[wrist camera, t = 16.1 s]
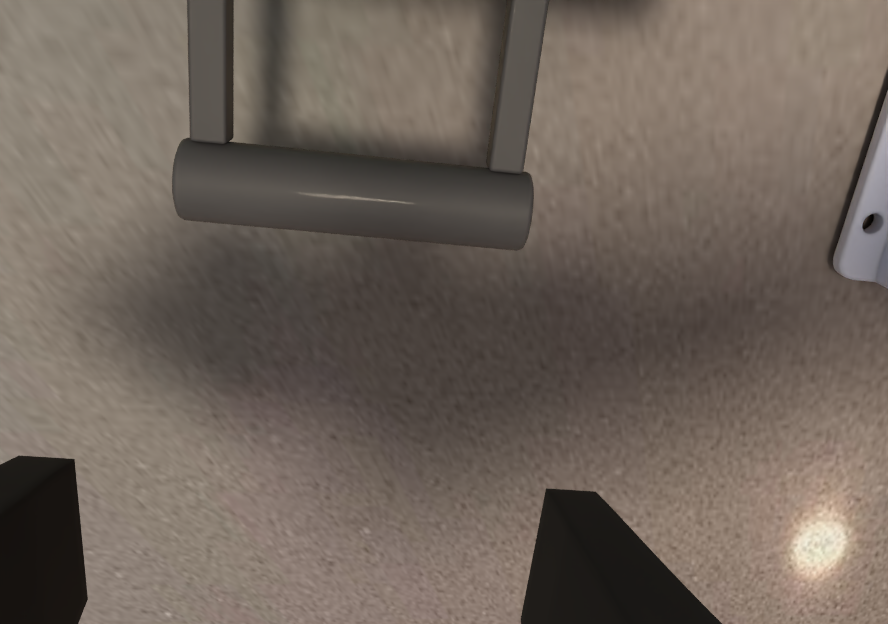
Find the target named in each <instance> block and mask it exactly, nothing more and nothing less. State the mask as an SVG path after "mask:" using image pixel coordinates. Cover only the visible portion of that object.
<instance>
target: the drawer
mask: <svg viewBox="0 0 888 624" xmlns="http://www.w3.org/2000/svg"><path fill="white" fill-rule="evenodd" d="M548 3H549V0H507V7H506V14H505V22H504V30H503V37H502V45H501V52H500V60H499V68H498V75H497V83H496V91H495V98H494V106H493V113H492V121H491V129H490V136H489V144H488V152H487V159H486V163H487V166H488V168H483V167H473V166H463V165H453V164H443V163H433V162H423V161H414V160H404V159H394V158H384V157H374V156H364V155H355V154H345V153H335V152H325V151H315V150H305V149H295V148H286V147H276V146H266V145H256V144H246V143H236V142H229V141H230V140H232V138H233V0H187V17H188V64H189V112H190V138H186V139H183V140H182V141H181V143H180V144H179V146H178V149H177V152H176V155H175V159H174V165H173V174H172V191H173V199H174V204H175V208H176V211H177V214H178V215H179V217H181V218H182V219H184V220H190V221H201V222H211V223H222V224H233V225H244V226H255V227H266V228H277V229H288V230H299V231H310V232H321V233H331V234H342V235H353V236H364V237H375V238H386V239H397V240H408V241H419V242H430V243H440V244H451V245H462V246H473V247H484V248H495V249H506V250H520V249H522V248H523V247H524V245H525V243H526V240H527V238H528V234H529V230H530V226H531V220H532V212H533V199H534V191H533V182H532V178H531V175H530V174H529V173H527V172H523V169H524V162H525V156H526V149H527V142H528V136H529V129H530V123H531V116H532V109H533V103H534V96H535V89H536V83H537V76H538V70H539V63H540V56H541V50H542V43H543V36H544V30H545V23H546V16H547V10H548Z"/></svg>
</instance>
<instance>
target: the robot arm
mask: <svg viewBox="0 0 888 624" xmlns="http://www.w3.org/2000/svg"><path fill="white" fill-rule="evenodd" d="M870 214H873V215H874V220H873V222H872V224H871V225H870V226H869V227H868V228H866V229H863V228H862V226H863V221H864V220H865V218H866V217H867V216H869V215H870ZM833 266H834V269H835V270H836V271H837V272H838V273H839V274H840V275H842V276H844V277H845V278H848V279H851V280H859V281H870V282H876V283H878V284H880V285H882V286H883V287H885V288H887V289H888V91H887V94H886V97H885V100H884V103H883V106H882V109H881V112H880V115H879V118H878V121H877V124H876V127H875V130H874V134H873V137H872V140H871V143H870V146H869V149H868V152H867V155H866V158H865V161H864V164H863V167H862V170H861V173H860V177H859V180H858V183H857V186H856V189H855V192H854V195H853V198H852V201H851V204H850V207H849V210H848V213H847V216H846V220H845V223H844V226H843V229H842V232H841V235H840V238H839V241H838V244H837V247H836V250H835V253H834V257H833ZM87 600H88V598H87V587H86V577H85V566H84V556H83V545H82V535H81V524H80V514H79V503H78V493H77V482H76V472H75V461H74V459H64V458H48V457H32V456H17V457H15V458H13V459H11V460H9V461H7V462H5V463H3V464H1V465H0V624H78V622H79V620H80V617H81V615H82V612H83V610H84V607H85V605H86V602H87ZM521 624H722V623H721V622H720V621H719V620H718V619H717V618H716V617H715V616H714V615H713V614H712V613H711V612H710V611H709V610H708V609H707V608H706V607H705V606H704V605H703V604H702V603H701V602H700V601H699V600H698V599H697V598H696V597H695V596H694V595H693V594H692V593H691V592H690V591H689V590H688V589H687V588H686V587H685V586H684V585H683V584H682V583H681V582H680V581H679V579H678V578H677V577H676V576H675V575H674V574H673V573H672V572H671V571H670V570H669V569H668V568H667V567H666V566H665V565H664V564H663V563H662V562H661V561H660V559H659V558H658V557H657V556H656V555H655V554H654V553H653V552H652V551H651V550H650V549H649V548H648V547H647V546H646V544H645V543H644V542H643V541H642V540H641V539H640V538H639V537H638V536H637V535H636V534H635V533H634V532H633V530H632V529H631V528H630V527H629V526H628V525H627V524H626V523H625V522H624V521H623V520H622V519H621V518H620V516H619V515H618V514H617V513H616V512H615V511H614V510H613V509H612V508H611V507H610V506H609V505H608V504H607V503H606V502H605V501H604V500H603V499H602V498H601V497H600V496H599V495H598V494H597V493H596V492H591V491H575V490H559V489H546V492H545V497H544V503H543V508H542V513H541V518H540V523H539V528H538V533H537V539H536V544H535V549H534V554H533V559H532V564H531V569H530V575H529V580H528V585H527V590H526V595H525V600H524V605H523V610H522V616H521Z"/></svg>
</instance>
